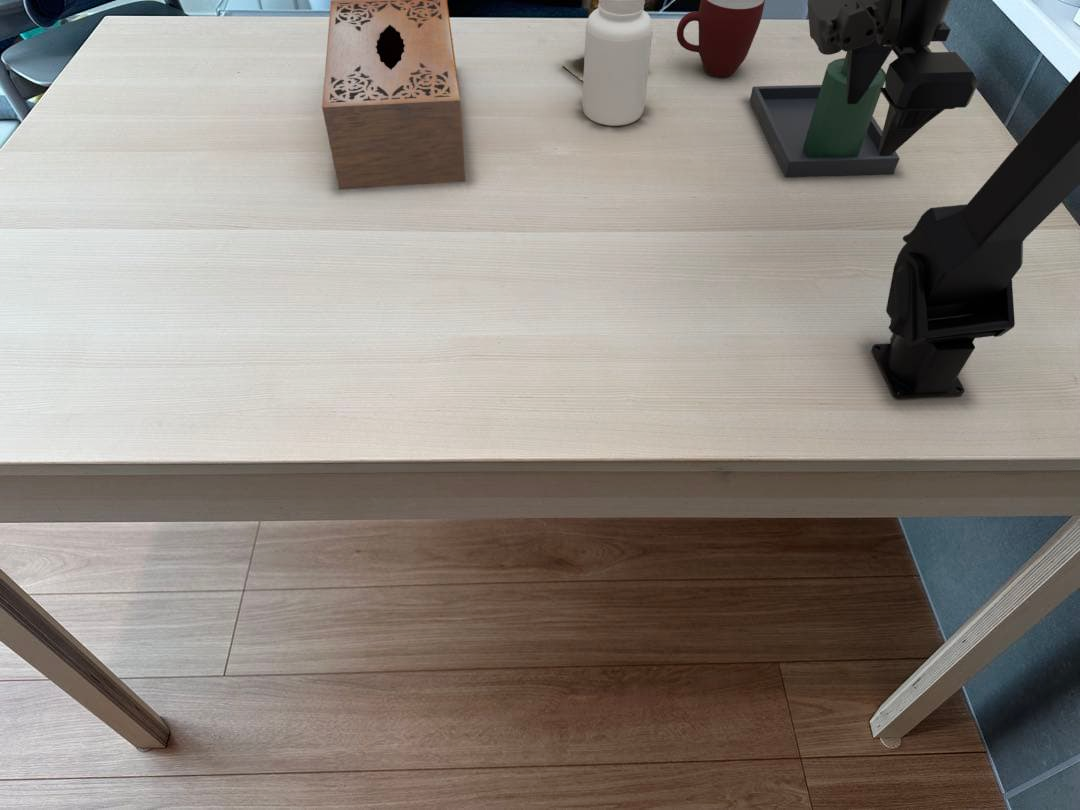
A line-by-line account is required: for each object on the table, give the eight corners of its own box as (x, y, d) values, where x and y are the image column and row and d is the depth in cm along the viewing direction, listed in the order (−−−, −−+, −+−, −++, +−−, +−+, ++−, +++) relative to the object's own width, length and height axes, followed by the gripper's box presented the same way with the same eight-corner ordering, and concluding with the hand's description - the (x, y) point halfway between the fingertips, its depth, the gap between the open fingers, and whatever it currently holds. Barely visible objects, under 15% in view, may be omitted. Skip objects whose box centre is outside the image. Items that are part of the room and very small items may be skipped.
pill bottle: (605, 89, 106) (615, -31, 94) (655, 109, 103) (671, -12, 91) (568, 112, 102) (574, -10, 90) (619, 135, 99) (631, 11, 87)
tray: (893, 173, 94) (900, 158, 93) (784, 177, 93) (789, 161, 92) (847, 98, 105) (852, 83, 104) (749, 101, 104) (752, 86, 103)
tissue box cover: (344, 77, 107) (330, 0, 99) (451, 71, 108) (446, -5, 101) (339, 189, 91) (322, 107, 83) (465, 181, 92) (460, 100, 84)
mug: (674, 84, 107) (686, 8, 99) (669, 55, 112) (680, -19, 105) (753, 86, 107) (770, 10, 99) (744, 57, 112) (760, -18, 105)
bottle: (809, 166, 94) (846, 49, 83) (798, 136, 98) (831, 21, 87) (863, 167, 94) (906, 50, 83) (850, 137, 98) (889, 22, 87)
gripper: (800, -89, 70) (760, 81, 82) (873, 5, 58) (813, 188, 70) (923, -90, 70) (865, 79, 82) (1020, 3, 59) (936, 184, 70)
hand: (867, 128), depth 76 cm, fingers open, 9 cm apart
